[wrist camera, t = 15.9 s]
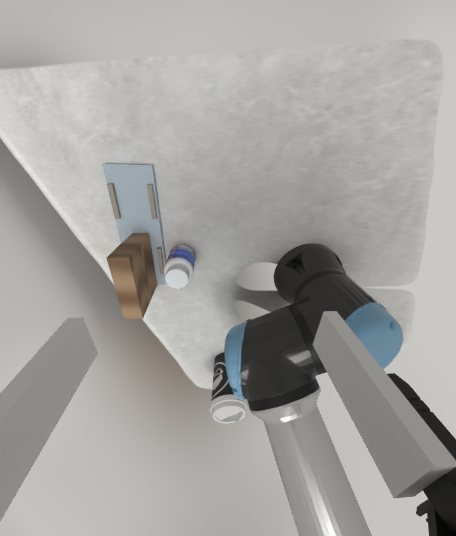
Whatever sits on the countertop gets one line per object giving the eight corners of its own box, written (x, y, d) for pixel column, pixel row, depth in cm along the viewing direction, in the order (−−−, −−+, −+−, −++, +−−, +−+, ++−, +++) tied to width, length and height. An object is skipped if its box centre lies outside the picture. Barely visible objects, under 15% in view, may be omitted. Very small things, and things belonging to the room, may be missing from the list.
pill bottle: (172, 241, 42) (163, 261, 33) (198, 248, 43) (195, 269, 35) (167, 264, 44) (157, 288, 36) (192, 270, 45) (188, 295, 37)
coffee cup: (214, 372, 64) (215, 428, 51) (205, 352, 59) (203, 408, 46) (244, 366, 63) (252, 420, 50) (237, 346, 59) (244, 400, 46)
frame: (131, 232, 40) (106, 257, 30) (149, 233, 40) (128, 257, 30) (142, 284, 45) (123, 318, 36) (157, 284, 46) (142, 318, 36)
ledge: (153, 165, 35) (150, 165, 34) (168, 281, 47) (167, 286, 45) (105, 163, 34) (100, 163, 33) (132, 282, 46) (130, 286, 45)
